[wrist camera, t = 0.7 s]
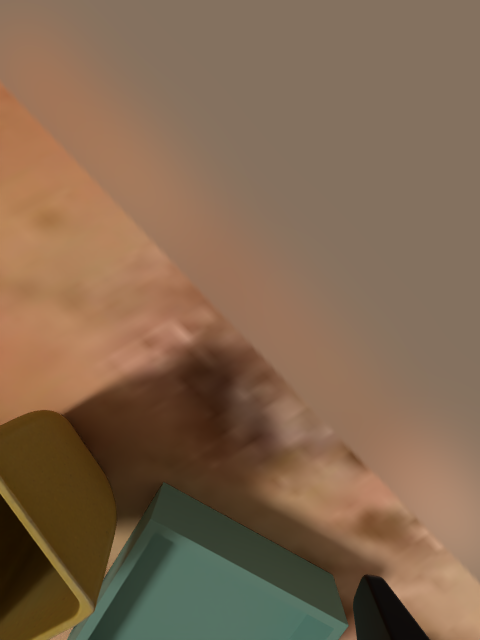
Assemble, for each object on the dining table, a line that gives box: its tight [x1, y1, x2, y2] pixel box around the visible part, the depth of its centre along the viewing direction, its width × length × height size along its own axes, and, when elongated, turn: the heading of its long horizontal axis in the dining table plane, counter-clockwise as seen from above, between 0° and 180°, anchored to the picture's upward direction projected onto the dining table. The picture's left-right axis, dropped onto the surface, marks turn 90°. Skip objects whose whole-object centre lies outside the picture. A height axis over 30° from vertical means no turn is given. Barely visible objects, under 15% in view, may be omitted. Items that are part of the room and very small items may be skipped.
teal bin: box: [67, 482, 349, 640], centre depth 23 cm, size 13×13×4 cm
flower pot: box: [0, 410, 117, 640], centre depth 19 cm, size 9×9×9 cm
